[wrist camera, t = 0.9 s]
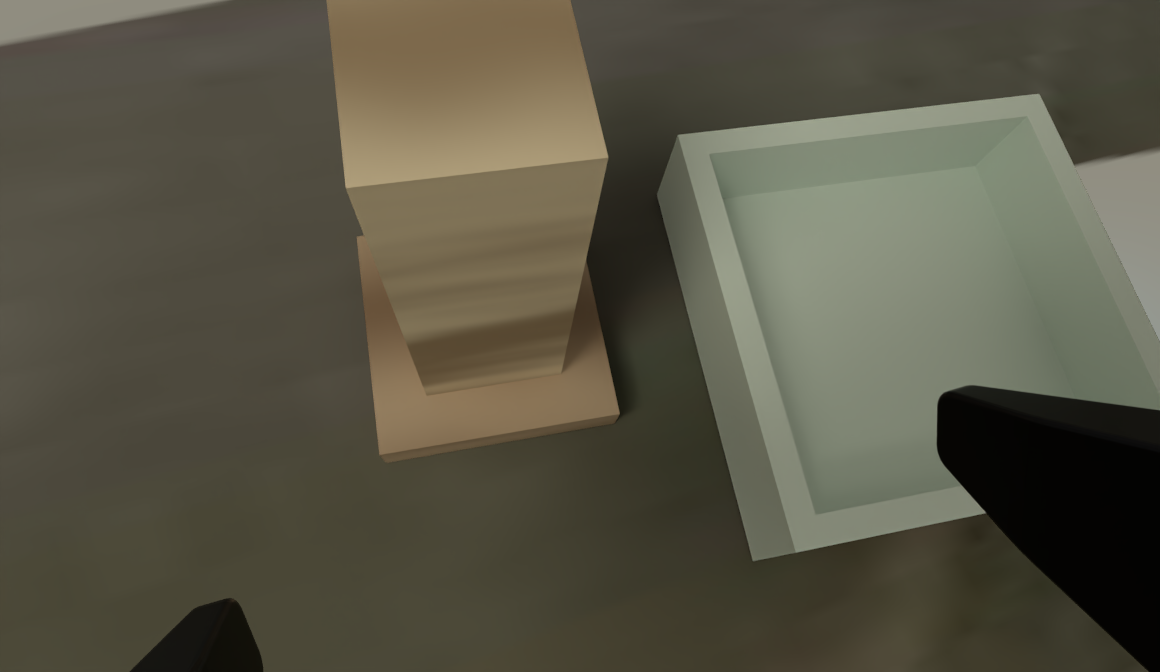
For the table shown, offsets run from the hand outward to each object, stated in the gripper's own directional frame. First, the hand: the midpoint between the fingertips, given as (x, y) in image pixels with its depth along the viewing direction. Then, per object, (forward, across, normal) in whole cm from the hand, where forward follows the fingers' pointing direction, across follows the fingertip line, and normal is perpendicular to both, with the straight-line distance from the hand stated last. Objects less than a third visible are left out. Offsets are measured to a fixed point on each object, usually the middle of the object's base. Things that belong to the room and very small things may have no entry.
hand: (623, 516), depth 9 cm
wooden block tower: (+15, 0, +3) cm, 15 cm away
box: (+13, -12, +5) cm, 19 cm away
